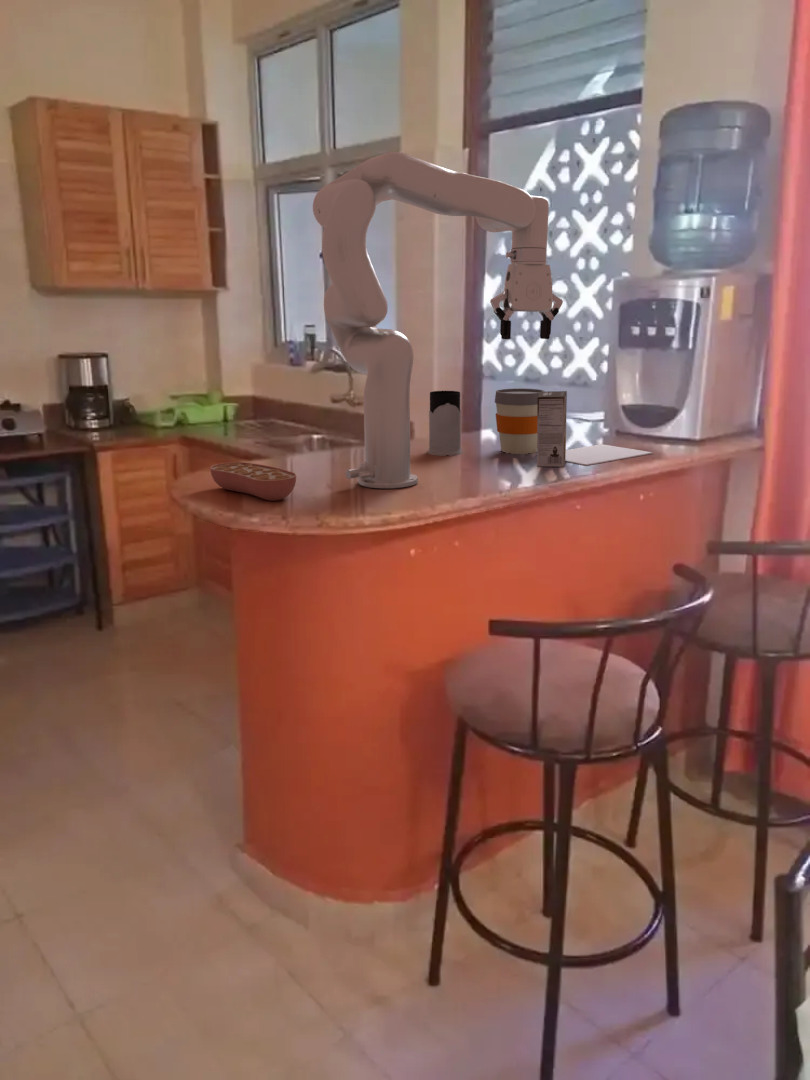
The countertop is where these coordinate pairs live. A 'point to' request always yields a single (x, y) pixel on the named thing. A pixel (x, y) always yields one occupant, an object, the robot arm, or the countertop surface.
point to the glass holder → (444, 423)
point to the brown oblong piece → (254, 479)
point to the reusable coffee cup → (517, 420)
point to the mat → (600, 454)
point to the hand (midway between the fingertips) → (525, 338)
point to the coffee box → (551, 428)
